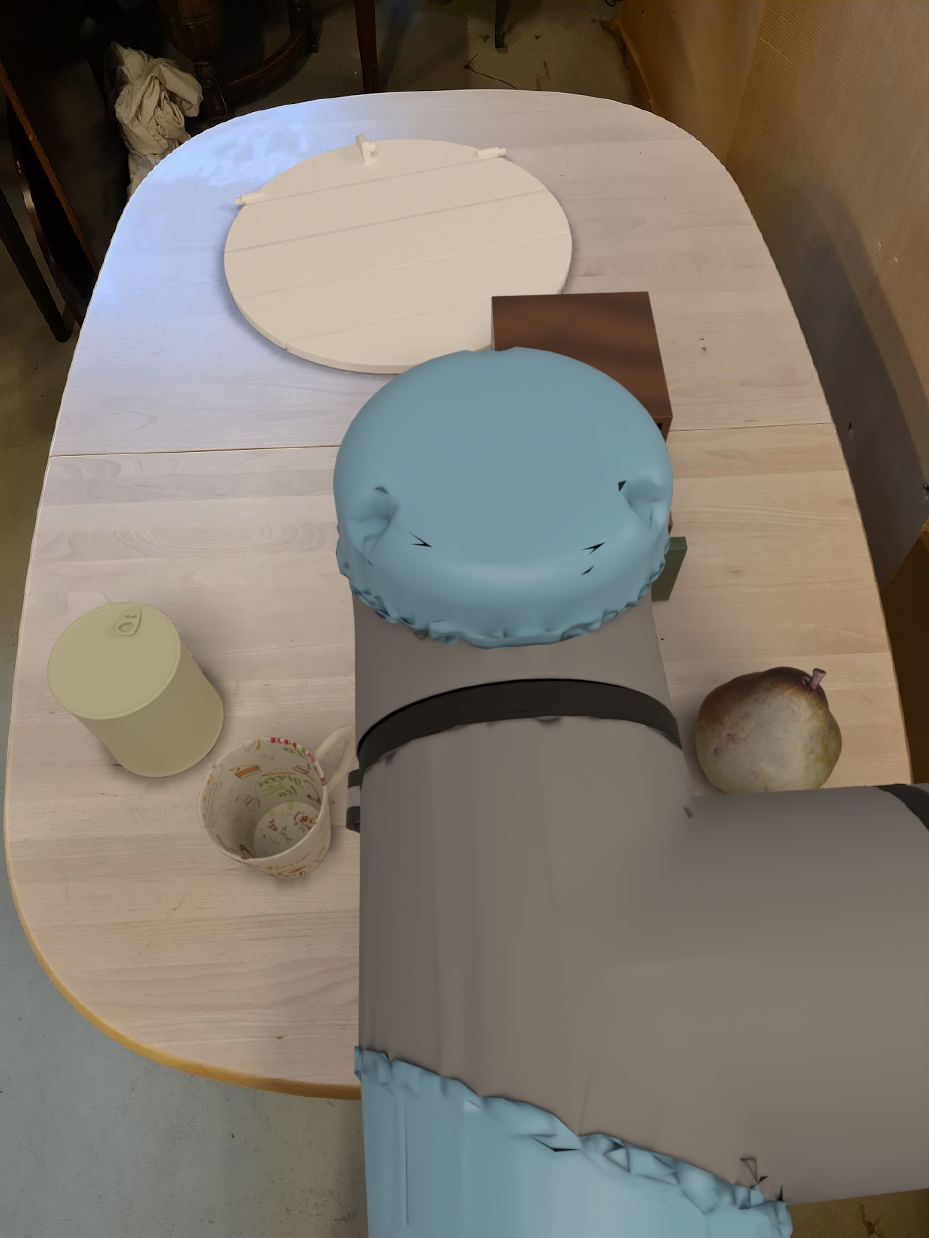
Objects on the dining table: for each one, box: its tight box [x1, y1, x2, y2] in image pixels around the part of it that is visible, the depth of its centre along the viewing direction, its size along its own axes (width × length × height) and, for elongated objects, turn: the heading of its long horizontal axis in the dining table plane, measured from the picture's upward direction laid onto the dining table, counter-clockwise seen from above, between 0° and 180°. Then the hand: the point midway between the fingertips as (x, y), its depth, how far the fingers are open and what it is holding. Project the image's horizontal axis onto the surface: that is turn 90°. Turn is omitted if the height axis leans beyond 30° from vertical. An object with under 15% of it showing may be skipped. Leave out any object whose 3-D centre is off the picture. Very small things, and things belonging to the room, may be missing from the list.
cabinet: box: [491, 290, 674, 444], centre depth 80 cm, size 16×15×10 cm
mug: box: [197, 724, 356, 880], centre depth 61 cm, size 8×13×10 cm, turn 145°
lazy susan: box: [223, 133, 573, 375], centre depth 96 cm, size 40×39×3 cm
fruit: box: [694, 665, 843, 795], centre depth 61 cm, size 10×9×12 cm
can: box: [46, 601, 225, 778], centre depth 64 cm, size 9×9×12 cm
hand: (488, 882), depth 51 cm, fingers closed
